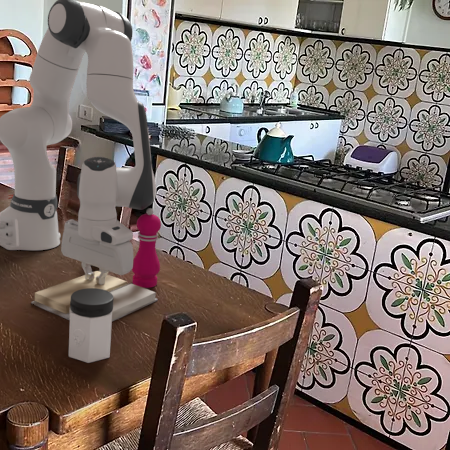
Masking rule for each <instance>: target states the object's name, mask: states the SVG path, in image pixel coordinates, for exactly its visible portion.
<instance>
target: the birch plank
mask: <svg viewBox="0 0 450 450" xmlns="http://www.w3.org/2000/svg"><path fill="white" fill-rule="evenodd" d="M93 272H94V273H95V275H94V280H91V281H89V280H86V279H85V274H83V275H82V276H78V277H76V278H72V279H69V280H67V281H64V282H61V283H58V284H56V285H53V286H49V287H47V288H44V289H41V290H38V291H36V292H34V301H37V302H39V303H41V304H44V305H46V306H48V307H51V308H53V309H56V310H58V311H60V312H63V313H65V314H67V313H69V309H70V301H71V295H72V294H73V293H74V292H75V291H78V290H81V289H87V288H97V289H103V290H106V291H108V292H109V291H111V290H114V289H116V288H119V287H121V286H124V285H126V284H128V281H127V280H123V279H122V278H119V277H116V276H114V275H113V276H112V275H110V274H109V273H108V274H107V276H106V277H105V283H104V284H102V285H100V284H97V283H96V277H97V276H100V274H101V272H100V271H99V270H95V271H93Z"/></svg>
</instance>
